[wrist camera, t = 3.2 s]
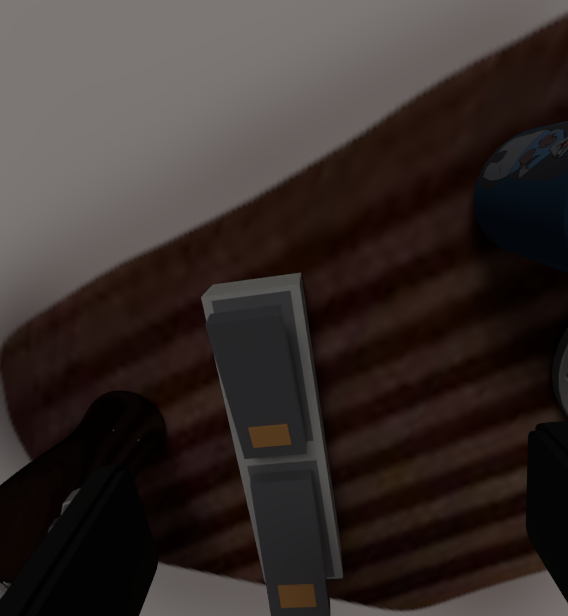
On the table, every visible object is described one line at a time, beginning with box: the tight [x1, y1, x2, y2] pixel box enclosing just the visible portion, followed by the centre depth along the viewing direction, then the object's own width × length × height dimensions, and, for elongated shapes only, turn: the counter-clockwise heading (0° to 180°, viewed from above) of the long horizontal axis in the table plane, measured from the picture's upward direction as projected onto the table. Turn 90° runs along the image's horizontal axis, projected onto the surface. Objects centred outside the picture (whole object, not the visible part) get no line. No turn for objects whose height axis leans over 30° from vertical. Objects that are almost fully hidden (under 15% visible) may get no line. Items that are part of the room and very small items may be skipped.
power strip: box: [201, 273, 343, 582], centre depth 29 cm, size 23×6×3 cm, turn 9°
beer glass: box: [0, 390, 165, 599], centre depth 24 cm, size 7×7×15 cm
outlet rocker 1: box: [205, 305, 307, 459], centre depth 24 cm, size 4×10×1 cm, turn 9°
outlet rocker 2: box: [250, 470, 330, 616], centre depth 27 cm, size 4×10×1 cm, turn 9°
